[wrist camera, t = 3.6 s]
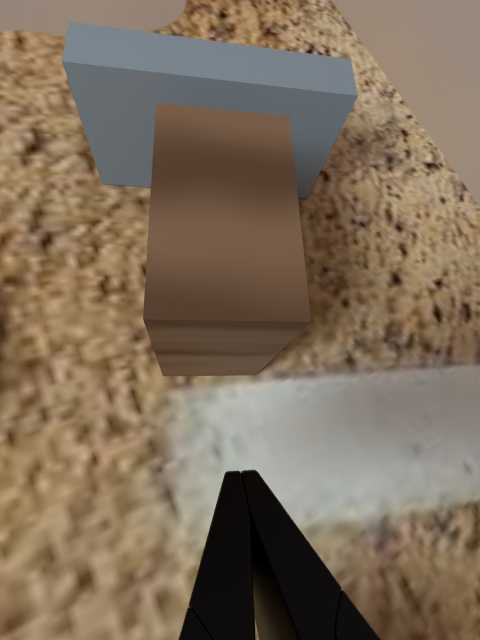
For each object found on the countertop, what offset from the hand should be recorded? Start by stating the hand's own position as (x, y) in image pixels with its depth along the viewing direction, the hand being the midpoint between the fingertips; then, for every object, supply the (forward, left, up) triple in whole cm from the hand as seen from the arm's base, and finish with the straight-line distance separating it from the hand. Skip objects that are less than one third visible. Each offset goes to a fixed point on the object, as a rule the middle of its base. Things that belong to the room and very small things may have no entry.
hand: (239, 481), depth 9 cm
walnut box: (+8, -6, -12) cm, 16 cm away
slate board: (+17, -12, -12) cm, 24 cm away
